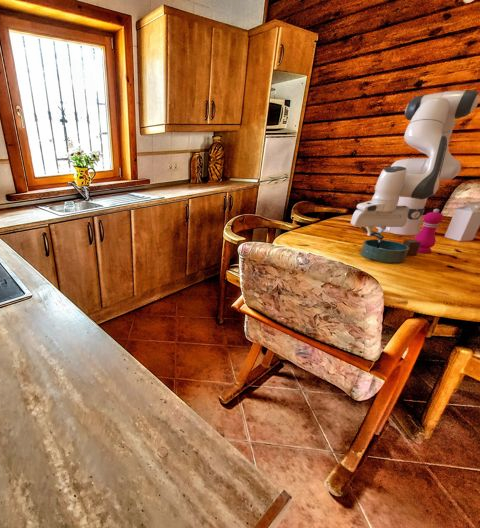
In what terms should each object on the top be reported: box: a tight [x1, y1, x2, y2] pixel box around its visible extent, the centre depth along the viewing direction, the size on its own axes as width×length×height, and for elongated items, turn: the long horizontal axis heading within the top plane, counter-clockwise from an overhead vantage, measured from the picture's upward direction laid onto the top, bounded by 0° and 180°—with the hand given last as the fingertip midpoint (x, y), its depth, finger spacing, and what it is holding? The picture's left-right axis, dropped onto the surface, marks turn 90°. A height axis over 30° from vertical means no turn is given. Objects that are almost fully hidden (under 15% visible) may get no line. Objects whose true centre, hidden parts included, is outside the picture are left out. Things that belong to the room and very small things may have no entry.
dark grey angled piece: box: [360, 227, 385, 249], centre depth 129 cm, size 17×5×8 cm, turn 170°
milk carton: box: [443, 201, 480, 242], centre depth 138 cm, size 7×7×19 cm
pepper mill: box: [413, 208, 444, 254], centre depth 126 cm, size 7×7×20 cm
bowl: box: [360, 239, 409, 264], centre depth 124 cm, size 15×15×6 cm
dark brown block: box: [402, 238, 421, 257], centre depth 126 cm, size 4×4×6 cm
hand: (373, 235), depth 127 cm, fingers closed on dark grey angled piece
